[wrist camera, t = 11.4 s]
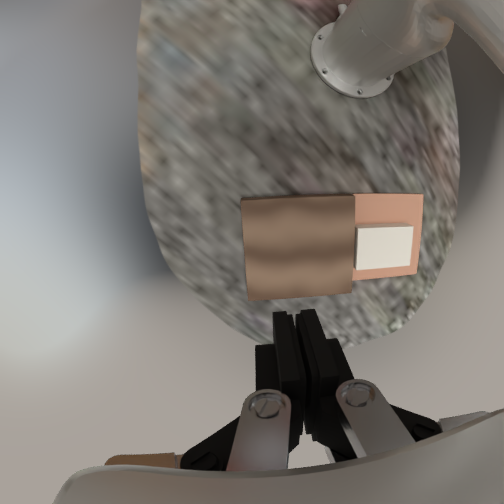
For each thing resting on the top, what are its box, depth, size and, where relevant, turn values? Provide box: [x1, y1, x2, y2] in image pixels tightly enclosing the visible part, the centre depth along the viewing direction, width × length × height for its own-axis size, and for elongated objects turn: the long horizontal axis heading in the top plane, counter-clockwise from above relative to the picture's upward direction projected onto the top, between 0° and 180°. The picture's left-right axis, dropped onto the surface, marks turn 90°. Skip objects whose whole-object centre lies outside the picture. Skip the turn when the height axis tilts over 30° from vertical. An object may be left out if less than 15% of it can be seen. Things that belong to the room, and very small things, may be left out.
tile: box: [353, 223, 414, 270], centre depth 39 cm, size 6×9×2 cm, turn 94°
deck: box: [241, 194, 355, 301], centre depth 39 cm, size 14×15×2 cm
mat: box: [352, 193, 423, 280], centre depth 40 cm, size 13×12×1 cm
